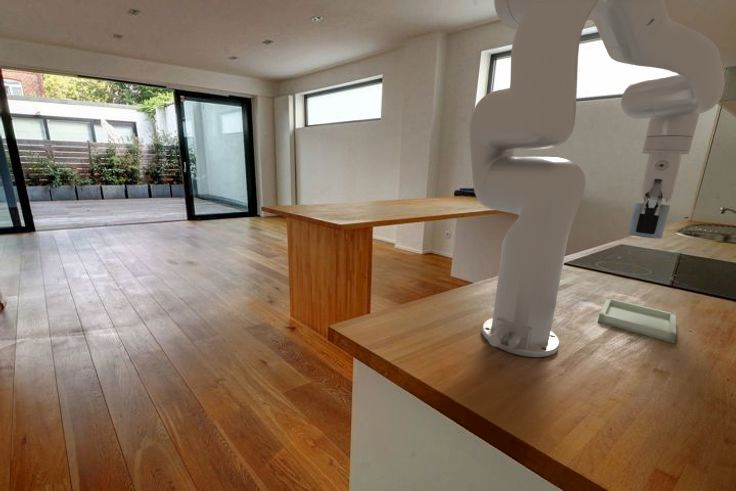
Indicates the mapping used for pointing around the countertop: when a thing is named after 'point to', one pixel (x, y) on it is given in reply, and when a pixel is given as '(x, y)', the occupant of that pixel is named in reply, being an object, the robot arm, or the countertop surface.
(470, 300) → the countertop surface
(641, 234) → the blue grey cylinder
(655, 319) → the tray
